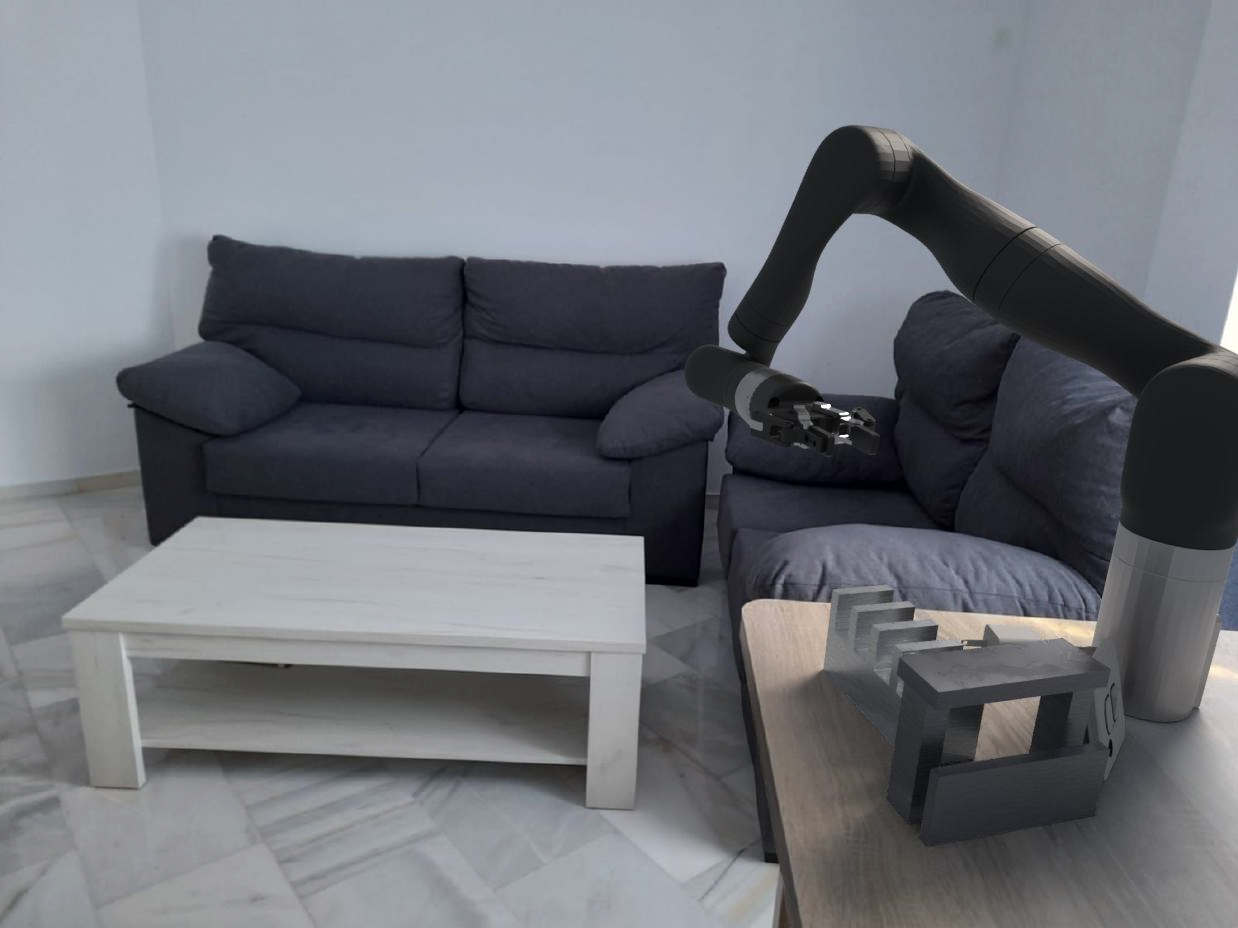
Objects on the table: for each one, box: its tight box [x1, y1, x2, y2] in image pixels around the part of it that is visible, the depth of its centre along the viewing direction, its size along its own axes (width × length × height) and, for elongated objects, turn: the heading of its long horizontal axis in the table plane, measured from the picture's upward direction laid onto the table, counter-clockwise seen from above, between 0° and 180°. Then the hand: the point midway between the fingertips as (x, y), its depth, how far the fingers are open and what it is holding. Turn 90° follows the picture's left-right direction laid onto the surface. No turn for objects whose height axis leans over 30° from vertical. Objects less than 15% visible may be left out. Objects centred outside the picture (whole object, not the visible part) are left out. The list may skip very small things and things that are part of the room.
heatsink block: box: [822, 584, 986, 764], centre depth 80 cm, size 6×16×9 cm, turn 15°
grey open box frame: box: [886, 637, 1111, 847], centre depth 68 cm, size 15×6×12 cm, turn 105°
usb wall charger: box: [960, 623, 1043, 648], centre depth 90 cm, size 4×7×4 cm, turn 88°
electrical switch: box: [1075, 638, 1126, 782], centre depth 76 cm, size 9×5×9 cm, turn 141°
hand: (852, 445), depth 86 cm, fingers open, 4 cm apart
